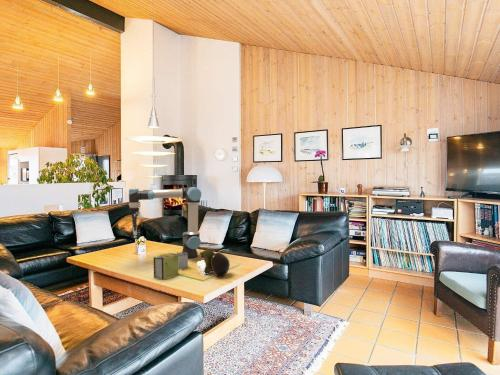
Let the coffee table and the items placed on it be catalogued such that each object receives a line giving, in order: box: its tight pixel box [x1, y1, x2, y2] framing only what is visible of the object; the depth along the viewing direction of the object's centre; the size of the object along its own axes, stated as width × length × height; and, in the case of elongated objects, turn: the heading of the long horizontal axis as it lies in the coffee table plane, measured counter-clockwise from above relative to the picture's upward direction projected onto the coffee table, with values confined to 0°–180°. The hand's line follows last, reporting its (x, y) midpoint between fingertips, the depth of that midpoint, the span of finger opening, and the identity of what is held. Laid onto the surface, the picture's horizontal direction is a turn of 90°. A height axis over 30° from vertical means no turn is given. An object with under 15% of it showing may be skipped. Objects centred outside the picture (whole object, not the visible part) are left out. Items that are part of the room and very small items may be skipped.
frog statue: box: [199, 249, 231, 278], centre depth 234 cm, size 19×16×25 cm
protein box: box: [153, 252, 179, 281], centre depth 231 cm, size 10×15×16 cm
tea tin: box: [176, 251, 189, 271], centre depth 250 cm, size 7×7×12 cm
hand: (134, 233), depth 254 cm, fingers open, 13 cm apart
